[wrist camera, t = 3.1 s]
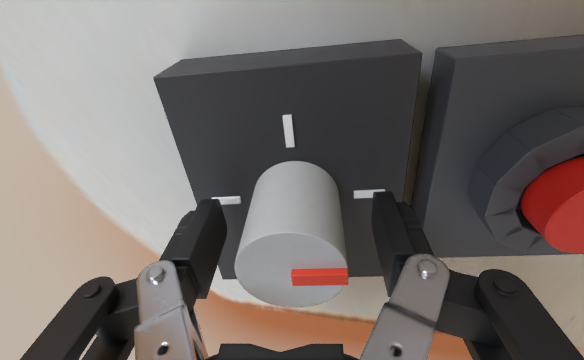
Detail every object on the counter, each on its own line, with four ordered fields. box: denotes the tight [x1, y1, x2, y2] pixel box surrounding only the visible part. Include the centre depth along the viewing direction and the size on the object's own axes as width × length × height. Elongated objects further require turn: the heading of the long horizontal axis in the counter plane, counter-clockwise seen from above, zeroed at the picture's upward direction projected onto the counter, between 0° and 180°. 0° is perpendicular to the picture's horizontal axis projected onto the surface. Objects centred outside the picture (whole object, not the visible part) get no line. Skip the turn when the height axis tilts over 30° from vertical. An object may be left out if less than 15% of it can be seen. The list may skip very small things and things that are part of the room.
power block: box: [411, 35, 584, 258], centre depth 14 cm, size 11×10×4 cm
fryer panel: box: [154, 39, 422, 279], centre depth 15 cm, size 12×10×3 cm
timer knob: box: [235, 161, 348, 308], centre depth 12 cm, size 4×4×5 cm
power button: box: [521, 157, 584, 253], centre depth 12 cm, size 4×4×2 cm
